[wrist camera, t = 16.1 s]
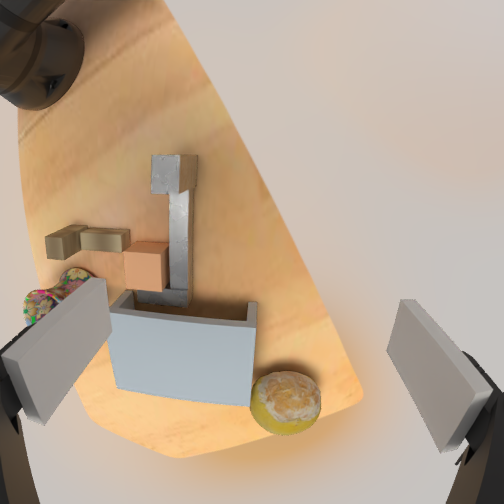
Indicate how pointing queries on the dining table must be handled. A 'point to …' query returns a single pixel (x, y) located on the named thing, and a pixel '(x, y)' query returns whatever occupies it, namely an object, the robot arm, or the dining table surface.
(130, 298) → the grey u-shaped bridge
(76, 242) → the l-shaped tan bracket
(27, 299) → the mug
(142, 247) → the block
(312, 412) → the fruit
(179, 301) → the grey piece
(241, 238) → the dining table surface
